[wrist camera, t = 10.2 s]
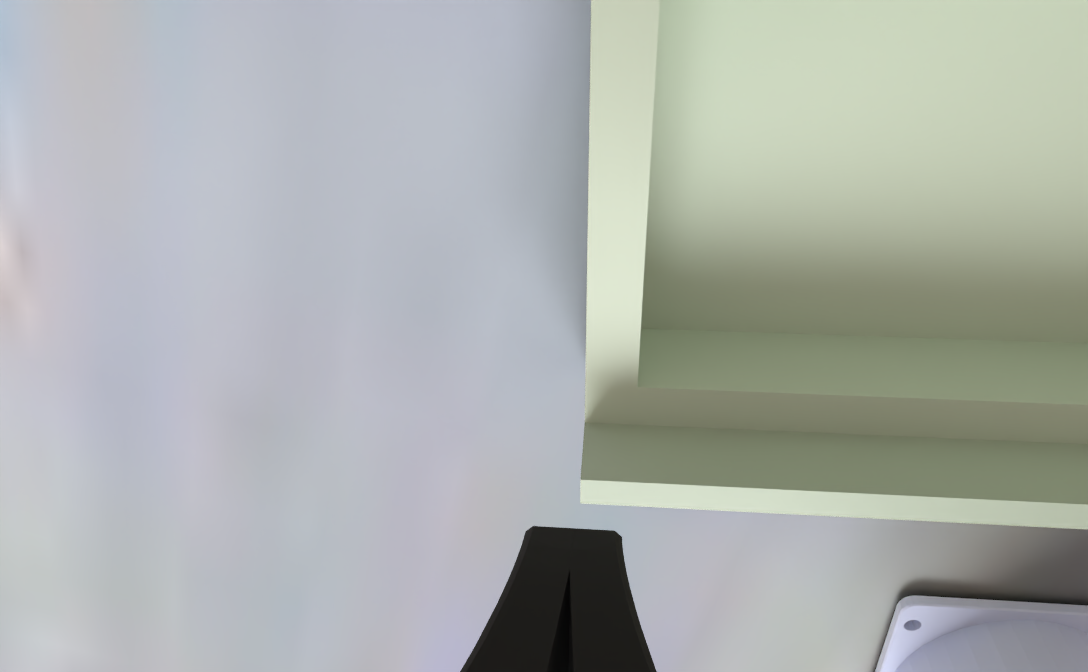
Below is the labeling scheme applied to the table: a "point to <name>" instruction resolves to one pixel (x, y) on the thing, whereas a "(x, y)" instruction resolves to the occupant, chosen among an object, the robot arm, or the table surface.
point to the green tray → (839, 259)
